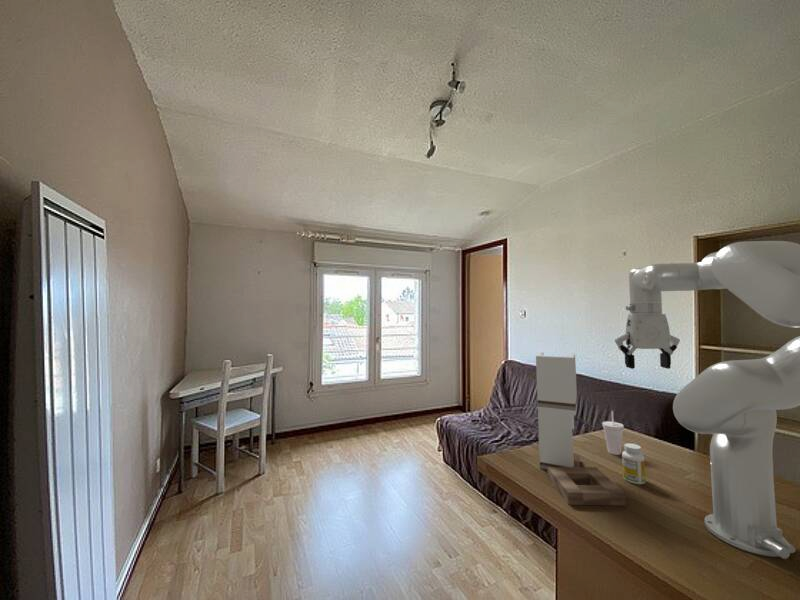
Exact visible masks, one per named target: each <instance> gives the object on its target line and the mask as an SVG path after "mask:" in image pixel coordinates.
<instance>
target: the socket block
mask: <svg viewBox="0 0 800 600" xmlns="http://www.w3.org/2000/svg"><path fill="white" fill-rule="evenodd" d="M546 471H547V478H548V480H549V481H550V482H551V484H552V485H553V486H554V488H556V490H557V491H558V492H559V494H560V495H561V497H562V498H563V499H564V501H566V502H565V503H567V504H568V505H573V506H574V505H577V506H578V505H580V506H582V505H586V506H595V505H596V506H627V504H626V492H625V491H623V490H622V488H620V487H619V486H618V485H617V484H616V483H615V482H614V481H613V480H611V479H610V478H609V477H608V476H606V475H605V474H604V473H603V472H602V471H601V470H600V469H598V467H595V466H594V467H593V466H592V467H591V466H590V467H589V466H588V467H584V466H579V467H547V470H546Z"/></svg>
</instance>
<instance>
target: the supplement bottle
mask: <svg viewBox="0 0 800 600" xmlns="http://www.w3.org/2000/svg"><path fill="white" fill-rule="evenodd" d="M623 448H624V451H621V457H622V458H621V461H622V476H623V477H622V478H623V479H624V480H625V481H627V482H629V483H632V484H634V485H644V484H646V483H647V480H646V459H645V455H644V454H642V447H641V446H640V445H638V444H636V443H624V447H623Z"/></svg>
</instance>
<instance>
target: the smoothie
mask: <svg viewBox="0 0 800 600" xmlns="http://www.w3.org/2000/svg"><path fill="white" fill-rule="evenodd" d="M610 411H611V421H610V420H609V421H607V420H606V421H602V423H601V425H602V427H603V433H604V437H605V443H606V449H607V452H608V453H609V454H611V455H615V456H620V455H622V444H623V442H622V441H623V435H624V434H623V433H624V430H625V426H624V424H622V423H621V422H620V423H619V422H616V421H615V419H614V417H615V416H614V411H613V410H610Z"/></svg>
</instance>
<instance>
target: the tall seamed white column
mask: <svg viewBox="0 0 800 600" xmlns="http://www.w3.org/2000/svg"><path fill="white" fill-rule="evenodd" d="M576 363H577V362H576V353H574V352H573V353H571V354H570V355H569V356H567V355H566V356H553V355H552V356H551V355H544V352H541V351H540V352H538V354H537V355H535V364H536V365H535V367H536V368H535V369H536V370H535V371H536V373H535V374H536V395H537V401H536V402H537V418H538V419H537V421H538V422H537V423H538V428H537V429H538V450H539V451H538V453H539V469H541V470H546V471H547V467H580V463H581V462H580V454H578V453H574V440H573V439H574V438H573V436H574V435H573V432H574V431H575V417H574V416H577V412H578V392H577V391H578V390H577V388H578V387H577V370H576V368H577V367H576Z"/></svg>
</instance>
